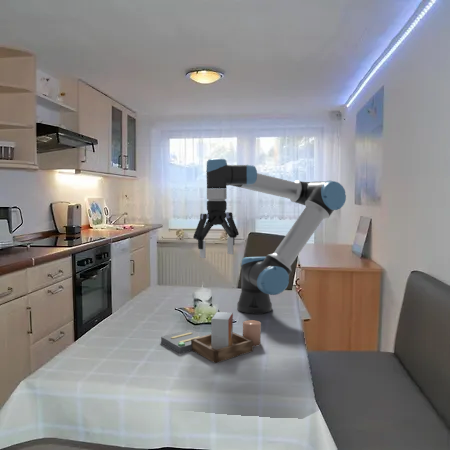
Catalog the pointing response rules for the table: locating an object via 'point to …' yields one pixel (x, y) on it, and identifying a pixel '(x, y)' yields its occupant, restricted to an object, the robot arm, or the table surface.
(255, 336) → the peach rounded capsule
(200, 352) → the wooden tray
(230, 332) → the small box
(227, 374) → the table surface
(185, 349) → the grey square slab
